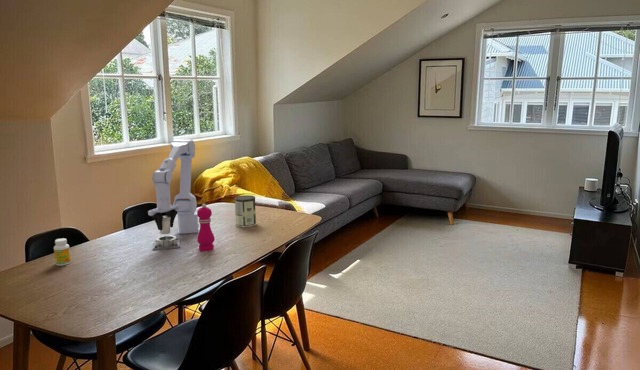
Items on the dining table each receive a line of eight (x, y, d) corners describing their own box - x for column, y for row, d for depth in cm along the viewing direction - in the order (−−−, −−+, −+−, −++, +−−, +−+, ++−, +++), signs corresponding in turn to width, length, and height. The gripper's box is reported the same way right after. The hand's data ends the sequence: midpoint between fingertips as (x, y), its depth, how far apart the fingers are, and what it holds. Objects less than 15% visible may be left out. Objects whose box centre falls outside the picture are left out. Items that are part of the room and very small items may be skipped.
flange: (179, 240, 219) (179, 233, 218) (179, 247, 208) (179, 240, 208) (154, 242, 216) (153, 235, 215) (152, 250, 206) (152, 243, 205)
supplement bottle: (55, 266, 187) (52, 242, 185) (55, 262, 191) (52, 239, 190) (71, 264, 189) (68, 240, 187) (70, 260, 194) (68, 237, 192)
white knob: (167, 230, 215) (167, 215, 213) (172, 233, 211) (172, 217, 210) (157, 232, 211) (156, 216, 210) (161, 235, 208) (161, 219, 206)
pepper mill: (218, 247, 208) (216, 202, 204) (207, 252, 202) (205, 206, 198) (204, 245, 211) (202, 201, 207) (194, 250, 205) (191, 204, 201)
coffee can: (244, 220, 251) (243, 194, 248) (260, 223, 246) (259, 196, 243) (231, 225, 243) (230, 198, 240) (246, 228, 237) (245, 200, 235)
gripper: (172, 193, 216) (174, 223, 219) (143, 199, 205) (145, 230, 207) (181, 195, 212) (183, 225, 214) (152, 201, 201) (154, 233, 203)
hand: (165, 228), depth 211 cm, fingers closed on white knob, 5 cm apart
